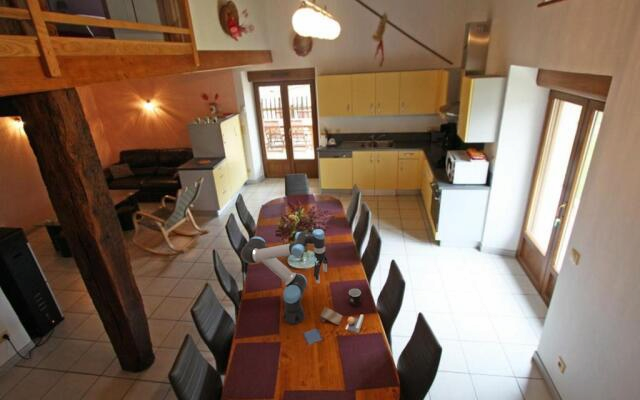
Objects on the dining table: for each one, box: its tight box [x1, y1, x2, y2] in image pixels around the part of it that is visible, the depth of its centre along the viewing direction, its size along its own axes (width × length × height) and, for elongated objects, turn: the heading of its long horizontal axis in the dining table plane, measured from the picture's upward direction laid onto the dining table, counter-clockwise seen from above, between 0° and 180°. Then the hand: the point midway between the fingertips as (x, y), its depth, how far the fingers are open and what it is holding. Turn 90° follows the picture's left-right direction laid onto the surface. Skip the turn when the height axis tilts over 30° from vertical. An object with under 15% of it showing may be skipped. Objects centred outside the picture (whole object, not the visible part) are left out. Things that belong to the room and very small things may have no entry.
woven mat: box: [302, 328, 323, 346], centre depth 219 cm, size 10×11×2 cm
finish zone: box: [345, 314, 364, 334], centre depth 226 cm, size 9×13×4 cm
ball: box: [346, 316, 355, 325], centre depth 227 cm, size 5×5×5 cm
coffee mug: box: [348, 288, 365, 307], centre depth 243 cm, size 12×9×10 cm
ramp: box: [319, 306, 344, 326], centre depth 232 cm, size 13×9×6 cm
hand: (321, 276), depth 234 cm, fingers open, 13 cm apart
